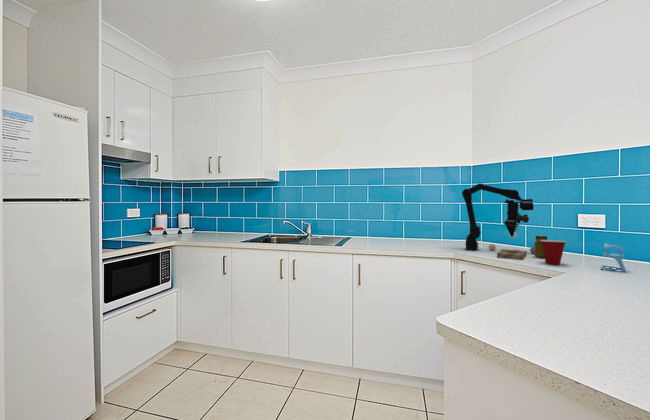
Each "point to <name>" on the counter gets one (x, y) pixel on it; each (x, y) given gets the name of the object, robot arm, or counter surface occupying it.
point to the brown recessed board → (511, 254)
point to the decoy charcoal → (532, 250)
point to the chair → (616, 256)
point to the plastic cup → (553, 251)
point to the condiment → (539, 247)
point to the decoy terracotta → (492, 247)
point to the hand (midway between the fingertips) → (512, 235)
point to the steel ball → (513, 235)
